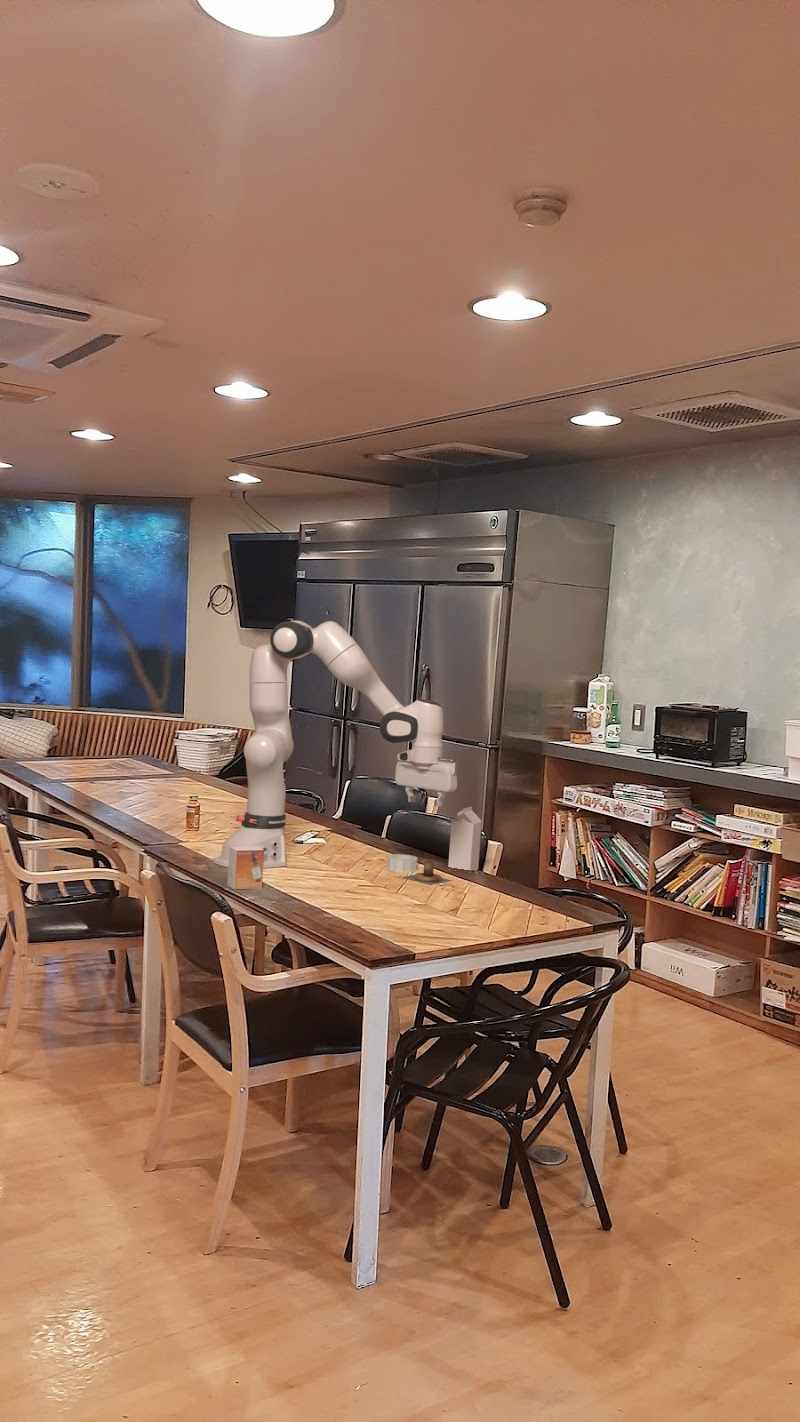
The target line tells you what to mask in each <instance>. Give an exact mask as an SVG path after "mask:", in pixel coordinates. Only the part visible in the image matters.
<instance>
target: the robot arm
mask: <svg viewBox="0 0 800 1422" xmlns="http://www.w3.org/2000/svg"><path fill="white" fill-rule="evenodd" d="M269 637H270V638H269V642H270V643H267V644H266V643H265V644H261V645H258V646H257V647H255V648H254V650H252V653H251V656H250V657H251V659H250V665H249V677H248V678H249V684H248V685H249V711H250V712H251V715H252V720H253V725H254V733H253V734H251V736H250V737H249V738H248V739H247V741H246V743H245V745H244V747H243V748H244V749H243V755H244V756H243V757H244V758H245V766H246V767H245V769H246V777H247V801H246V802H247V803H246V812H244V815H241V814H236V815H235V817H234V819H235V822H240V823H241V825H240V827H238V829H237V830H235V831H234V832H233V833H232V834H231V835H230V836H229V837H227V838H226V839H225V840H224V842H223V843H222V848H221V854H220V856H216V857H213V858H212V863H214V864H215V865H217V866H222V867H224V868H228V865H229V849H230V847H247V846H258V847H260V848H262V849H264V864H263V869H267V868H278V867H286V866H287V863H288V858H287V853H286V845H285V844H286V843H285V831H284V830H285V826H286V813H285V811H286V810H285V809H286V793H287V792H286V791H287V790H286V789H287V786H286V784H285V777H284V763H285V762H287V761H288V760H289V759H290V757H291V755H292V753H293V751H294V745H295V743H294V740H293V739H294V738H293V735H292V727H291V719H290V715H289V705H288V703H289V702H288V697H289V696H288V666H289V664H290V662H295V661H298V660H301V659H305V658H307V657H309V656H311V655H312V654H314V655H316V656H317V657H318V658H319V659H320V660H321V661H322V662H323V664H324V665H325V667H327V669H328V670H329V671H330V673H331V674H332V675H333V676H334V677H335V678H336V679H338V680H337V681H340V682H341V683H342V684H343V685H345V686H348V687H350V688H353V689H355V690H358V691H359V692H361V693H362V694H363V695H365V696H366V697H367V698H368V699H369V701H370V702H371V703H372V704H373V706H375V708H376V709H377V711H379V713H380V714H381V715H382V718H381V720H380V722H379V732H380V735H381V737H382V738H383V739H384V740H385V741H387V742H388V743H392V744H403V743H409V742H411V749H409V750H404V751H402V752H401V751H400V752H398V753H397V755H396V759H397V762H396V767H395V775H394V780H395V783H396V785H397V786H403V787H405V793H406V795H407V797H408V803H417V796H416V795H415V794H414V791H413V790H414V789H415V788H416V789H422V790H430V791H437V799H434V801H433V804H434V805H433V807H438V808H440V807H442V806H443V800H444V799H445V797H446V795H447V793H452V792H456V790H457V789H458V778H457V777H458V776H457V763H456V762H455V761H453V759H451V758H448V759H447V758H444V757H443V750H444V748H443V747H444V745H443V741H442V740H443V739H442V738H443V734H444V719H445V718H444V711H443V706H441V704H440V703H438V702H437V701H433V700H431V699H424V698H418V699H416V700H415V701H414V702H411V703H410V704H408V705H404V704H402V703H401V702H400V701H399V700H398V699H397V697H395V695H394V694H393V693H392V691H391V690H390V689H389V688H388V686H386V685H385V683H384V682H383V681H382V679H381V678H380V676H379V675H378V673H377V671H376V670H375V669H374V667H373V665H372V664H371V662H370V661H369V659H368V657H367V656H366V654H365V653H364V651H363V649H362V648H361V646H359V644H358V643H357V642H356V641H355V639H354V638H353V637H352V635H350V633H348V631H346V629H344V628H343V627H342V626H341V625H340V624H338V623H337V622H335V621H332V620H330V621H324V622H323V623H322V622H321V623H320V624H318V626H316V627H314V626H312V625H311V624H310V623H308V622H304V621H301V620H289V621H287V620H286V621H283V622H280V623H279V624H276V626H275V627H274V628H273V629H272V631H271V633H270V636H269Z"/></svg>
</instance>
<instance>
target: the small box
mask: <svg viewBox="0 0 800 1422" xmlns="http://www.w3.org/2000/svg"><path fill="white" fill-rule="evenodd" d="M263 864H264V849H262V848H260V847H258V846H247V847H230V849H229V865H228V867H227V868H228V869H227V881H226V882H227V883H226V884H227V886H228V887H229V888H231V889H232V890H262V889H263V880H264V878H263V876H264V868H263Z"/></svg>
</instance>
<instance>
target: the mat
mask: <svg viewBox="0 0 800 1422" xmlns="http://www.w3.org/2000/svg"><path fill="white" fill-rule="evenodd" d="M400 878H401V879H403V880H408V881H411V882H412V881H413V882H416V883H417V882H418V883H420V884H421V883H422V884H425V885H428V886H429V885H430V886H434V885H437V884H443V883H447V882H452V881H453V880H452V879H448V878H444V877H441V881H440V882H422V881H418V880H416V879H415V874H412V875H406V876H401V877H400Z"/></svg>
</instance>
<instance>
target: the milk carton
mask: <svg viewBox="0 0 800 1422" xmlns="http://www.w3.org/2000/svg"><path fill="white" fill-rule="evenodd" d="M482 822H483V821H482V820H481V818H479V816H478V815H477V814H476V813H475V812H474V811H473V806H469V807H465V808H463V809H462V810H460V811H458V812H457V813H456V817H455V818H454V819H452V820H451V824H450V825H451V826H450V836H449V837H450V839H449V852H448V863H447V864H448V865H447V866H448V867H451V868H457V869H464V870H470V871H471V870H474V872H476V871H478V870H479V864H480V863H479V861H480V850H481V837H482V834H481V833H482ZM448 867H447V868H448Z"/></svg>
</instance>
